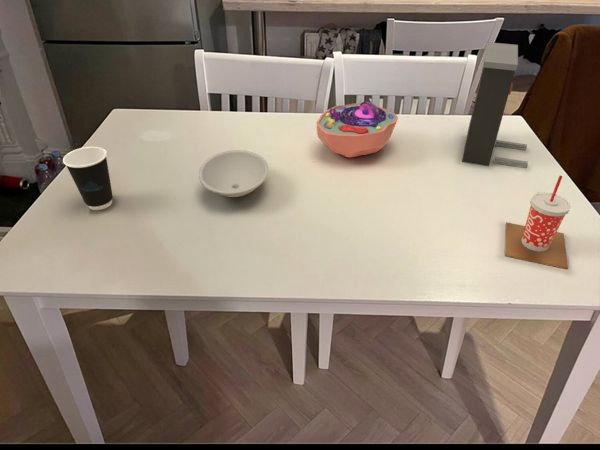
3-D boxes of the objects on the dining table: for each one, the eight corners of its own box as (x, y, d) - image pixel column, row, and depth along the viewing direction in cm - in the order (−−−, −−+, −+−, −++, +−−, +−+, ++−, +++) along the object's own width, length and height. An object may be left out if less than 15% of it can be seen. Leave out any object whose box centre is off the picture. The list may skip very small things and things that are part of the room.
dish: (271, 212, 92) (269, 191, 89) (198, 216, 91) (194, 195, 88) (268, 168, 106) (267, 148, 103) (205, 170, 105) (202, 151, 102)
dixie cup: (93, 219, 91) (76, 170, 84) (72, 205, 95) (54, 157, 88) (128, 201, 95) (114, 154, 89) (106, 188, 100) (92, 142, 93)
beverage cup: (512, 232, 86) (534, 166, 77) (545, 233, 86) (572, 167, 77) (523, 254, 81) (548, 186, 73) (559, 254, 81) (588, 186, 72)
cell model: (301, 147, 114) (300, 103, 107) (364, 127, 123) (368, 86, 116) (342, 177, 103) (344, 130, 96) (409, 153, 111) (415, 108, 104)
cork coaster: (563, 234, 86) (563, 233, 86) (567, 269, 78) (568, 267, 78) (505, 223, 89) (506, 222, 88) (504, 256, 81) (505, 254, 81)
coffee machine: (525, 144, 115) (556, 48, 101) (526, 172, 104) (560, 69, 90) (465, 136, 119) (487, 42, 105) (460, 162, 108) (484, 61, 94)
